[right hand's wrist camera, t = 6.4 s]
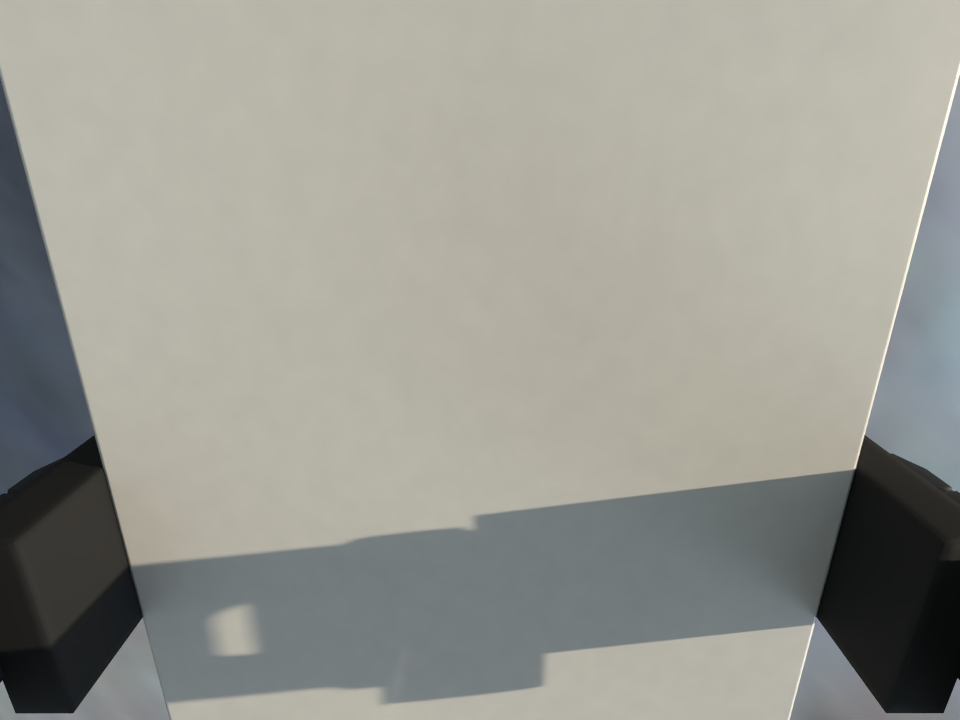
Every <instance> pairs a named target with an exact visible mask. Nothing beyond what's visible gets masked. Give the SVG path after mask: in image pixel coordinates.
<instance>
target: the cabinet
mask: <svg viewBox="0 0 960 720" xmlns="http://www.w3.org/2000/svg"><path fill="white" fill-rule="evenodd" d="M959 75H960V0H0V78H1V82H2V86H3V90H4V93H5V97H6V101H7V105H8V109H9V112H10V116H11V120H12V124H13V128H14V131H15V135H16V139H17V143H18V147H19V150H20V154H21V158H22V162H23V165H24V169H25V173H26V177H27V181H28V184H29V188H30V192H31V196H32V200H33V203H34V207H35V211H36V215H37V218H38V222H39V226H40V230H41V234H42V237H43V241H44V245H45V249H46V253H47V256H48V260H49V264H50V268H51V272H52V275H53V279H54V283H55V287H56V290H57V294H58V298H59V302H60V306H61V309H62V313H63V317H64V321H65V325H66V328H67V332H68V336H69V340H70V343H71V347H72V351H73V355H74V359H75V362H76V366H77V370H78V374H79V378H80V381H81V385H82V389H83V393H84V396H85V400H86V404H87V408H88V412H89V415H90V419H91V423H92V427H93V431H94V434H95V438H96V442H97V446H98V450H99V453H100V457H101V461H102V465H103V468H104V472H105V476H106V480H107V484H108V487H109V491H110V495H111V499H112V503H113V506H114V510H115V514H116V518H117V521H118V525H119V529H120V533H121V537H122V540H123V544H124V548H125V552H126V556H127V559H128V563H129V567H130V571H131V575H132V578H133V582H134V586H135V590H136V593H137V597H138V601H139V605H140V609H141V612H142V616H143V620H144V624H145V628H146V631H147V635H148V639H149V643H150V646H151V650H152V654H153V658H154V662H155V665H156V669H157V673H158V677H159V681H160V684H161V688H162V692H163V696H164V699H165V703H166V707H167V711H168V715H169V718H170V720H789V719H790V715H791V712H792V708H793V704H794V700H795V696H796V693H797V689H798V685H799V681H800V677H801V674H802V670H803V666H804V662H805V658H806V655H807V651H808V647H809V643H810V639H811V636H812V632H813V628H814V624H815V621H816V617H817V613H818V609H819V605H820V602H821V598H822V594H823V590H824V586H825V583H826V579H827V575H828V571H829V567H830V564H831V560H832V556H833V552H834V549H835V545H836V541H837V537H838V533H839V530H840V526H841V522H842V518H843V514H844V511H845V507H846V503H847V499H848V495H849V492H850V488H851V484H852V480H853V476H854V473H855V469H856V465H857V461H858V458H859V454H860V450H861V446H862V442H863V439H864V435H865V431H866V427H867V423H868V420H869V416H870V412H871V408H872V404H873V401H874V397H875V393H876V389H877V386H878V382H879V378H880V374H881V370H882V367H883V363H884V359H885V355H886V351H887V348H888V344H889V340H890V336H891V332H892V329H893V325H894V321H895V317H896V313H897V310H898V306H899V302H900V298H901V295H902V291H903V287H904V283H905V279H906V276H907V272H908V268H909V264H910V260H911V257H912V253H913V249H914V245H915V241H916V238H917V234H918V230H919V226H920V223H921V219H922V215H923V211H924V207H925V204H926V200H927V196H928V192H929V188H930V185H931V181H932V177H933V173H934V169H935V166H936V162H937V158H938V154H939V150H940V147H941V143H942V139H943V135H944V132H945V128H946V124H947V120H948V116H949V113H950V109H951V105H952V101H953V97H954V94H955V90H956V86H957V82H958V78H959Z"/></svg>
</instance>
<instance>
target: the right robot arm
mask: <svg viewBox="0 0 960 720" xmlns="http://www.w3.org/2000/svg"><path fill="white" fill-rule="evenodd" d="M142 617H143V616H142V612H141V609H140V605H139V601H138V597H137V593H136V590H135V586H134V582H133V578H132V575H131V571H130V567H129V563H128V559H127V556H126V552H125V548H124V544H123V540H122V537H121V533H120V529H119V525H118V521H117V518H116V514H115V510H114V506H113V503H112V499H111V495H110V491H109V487H108V484H107V480H106V476H105V472H104V468H103V465H102V461H101V457H100V453H99V450H98V446H97V442H96V438H95V435H94V436H93V437H91V438H90V439H89V440H87V441H86V442H85V443H83V444H82V445H80V446H79V447H78V448H76V449H75V450H74V451H72V452H71V453H70V454H68V455H67V456H66V457H64V458H62V459H59V460H57V461H55V462H53V463H51V464H49V465H47V466H44V467H42V468H40V469H38V470H36V471H34V472H32V473H31V474H30V475H28V476H27V477H25V478H24V479H23V480H21V481H20V482H18V483H17V484H16V485H14V486H13V487H11V488H10V489H9V490H8V493H7V494H2V495H0V682H1V681H2V680H3V682H4V685H5V687H6V690H7V692H8V695H9V697H10V700H11V703H12V705H13V708H14V710H15V713H74V711H75V710H76V709H77V707H78V706H79V704H80V703H81V702H82V700H83V699H84V697H85V696H86V695H87V693H88V692H89V691H90V689H91V688H92V686H93V685H94V684H95V682H96V681H97V680H98V678H99V677H100V675H101V674H102V673H103V671H104V670H105V668H106V667H107V666H108V664H109V663H110V662H111V660H112V659H113V657H114V656H115V655H116V653H117V652H118V651H119V649H120V648H121V646H122V645H123V644H124V642H125V641H126V639H127V638H128V637H129V635H130V634H131V633H132V631H133V630H134V628H135V627H136V626H137V624H138V623H139V622H140V620H141V619H142ZM817 618H818V620H819V621H820V622H821V624H822V625H823V627H824V628H825V629H826V631H827V632H828V633H829V635H830V636H831V638H832V639H833V640H834V642H835V643H836V644H837V646H838V647H839V649H840V650H841V651H842V653H843V654H844V656H845V657H846V658H847V660H848V661H849V662H850V664H851V665H852V667H853V668H854V669H855V671H856V672H857V673H858V675H859V676H860V678H861V679H862V680H863V682H864V683H865V685H866V686H867V687H868V689H869V690H870V691H871V693H872V694H873V696H874V697H875V698H876V700H877V701H878V702H879V704H880V705H881V707H882V708H883V709H884V711H885V712H886V713H944V710H945V708H946V705H947V703H948V700H949V698H950V695H951V693H952V690H953V688H954V685H955V683H956V680H957V678H958V679H959V680H960V493H959V492H958V491H952V487H950V486H949V485H948V484H946V483H945V482H943V481H942V480H941V479H939V478H938V477H936V476H935V475H934V474H932V473H931V472H929V471H928V470H927V469H925V468H922V467H920V466H918V465H916V464H914V463H912V462H909V461H907V460H905V459H903V458H901V457H899V456H896V455H894V454H890V453H888V452H887V451H886V450H884V449H883V448H882V447H880V446H879V445H877V444H876V443H875V442H873V441H872V440H871V439H869V438H868V437H867V436H865V435H864V439H863V442H862V446H861V450H860V454H859V458H858V461H857V465H856V469H855V473H854V476H853V480H852V484H851V488H850V492H849V495H848V499H847V503H846V507H845V511H844V514H843V518H842V522H841V526H840V530H839V533H838V537H837V541H836V545H835V549H834V552H833V556H832V560H831V564H830V567H829V571H828V575H827V579H826V583H825V586H824V590H823V594H822V598H821V602H820V605H819V609H818V613H817Z"/></svg>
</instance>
